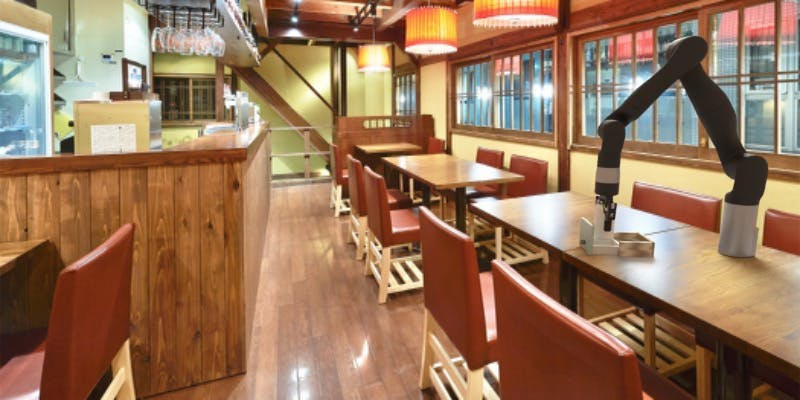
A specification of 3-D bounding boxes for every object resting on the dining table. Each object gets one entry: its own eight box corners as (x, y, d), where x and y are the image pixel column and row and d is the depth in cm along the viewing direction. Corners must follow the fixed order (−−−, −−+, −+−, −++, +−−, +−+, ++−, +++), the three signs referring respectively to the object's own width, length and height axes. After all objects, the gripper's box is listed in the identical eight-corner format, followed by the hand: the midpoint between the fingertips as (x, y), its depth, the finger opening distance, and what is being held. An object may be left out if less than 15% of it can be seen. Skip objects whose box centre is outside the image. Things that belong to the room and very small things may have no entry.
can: (588, 235, 158) (590, 201, 156) (604, 233, 160) (606, 200, 158) (601, 240, 152) (604, 205, 150) (617, 238, 154) (620, 204, 152)
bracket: (610, 244, 162) (613, 217, 160) (623, 255, 151) (626, 226, 149) (575, 244, 164) (577, 217, 162) (585, 255, 152) (587, 226, 150)
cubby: (637, 245, 162) (638, 231, 161) (653, 257, 149) (655, 242, 148) (605, 245, 163) (606, 231, 162) (618, 256, 151) (620, 242, 150)
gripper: (627, 183, 145) (623, 234, 148) (611, 177, 159) (607, 223, 162) (603, 184, 146) (599, 234, 149) (589, 177, 160) (586, 223, 163)
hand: (603, 228), depth 156 cm, fingers closed on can, 6 cm apart
